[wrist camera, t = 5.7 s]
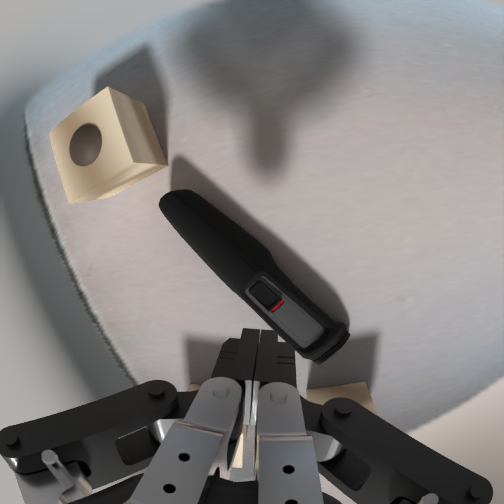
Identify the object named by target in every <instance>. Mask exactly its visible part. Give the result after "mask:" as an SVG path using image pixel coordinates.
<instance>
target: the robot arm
mask: <svg viewBox="0 0 504 504" xmlns="http://www.w3.org/2000/svg"><path fill="white" fill-rule="evenodd" d="M259 339H260V342H259ZM251 410H252V418H251V425H256V426H255V438H254V469H253V481H245V482H233V481H230V480H229V475H230V472H231V469H232V465H233V462H234V459H235V455H236V452H237V448H238V445H239V441H240V435H241V433H242V429H243V424H245V425H249V423H250V416H251ZM144 426H146V428H144V429H141V430H139V431H137V432H134V433H132V434H130V435H127V436H125V437H123V438H120V439H118V438H119V437H121V436H123V435H125V434H128V433H130V432H133V431H135V430H137V429H140V428H141V427H144ZM0 454H1V456H2V457H3V458H4V459H5V461H6V462H7V463H8V464H9V466H10V468H11V469H12V470H13V471H14V473H15V475H16V479H17V482H18V485H19V488H20V491H21V493H22V496H23V499H24V501H25V504H342V503H341V502H340V501H338V500H337V499H335V498H334V497H332V496H330V495H328V494H326V493H323V492H322V490H321V484H320V478H319V473H320V474H321V475H323V476H324V477H325V478H326V479H327V480H328V481H330V482H331V483H332V484H333V485H334V486H336V487H337V488H338V489H339V490H341V491H342V492H343V493H344V494H345V495H347V496H348V497H349V498H351V499H352V500H353V501H354V502H356V503H357V504H489V503H490V502H491V500H492V496H493V488H492V486H491V484H490V482H489V481H488V480H487V479H486V478H484V477H482V476H480V475H478V474H476V473H474V472H472V471H470V470H469V469H466V468H465V467H463V466H461V465H459V464H457V463H455V462H454V461H452V460H450V459H448V458H446V457H444V456H443V455H441V454H439V453H438V452H436V451H434V450H432V449H431V448H429V447H427V446H425V445H424V444H422V443H420V442H419V441H417V440H415V439H414V438H412V437H410V436H409V435H407V434H406V433H404V432H402V431H401V430H399V429H397V428H396V427H394V426H393V425H391V424H390V423H388V422H386V421H385V420H383V419H382V418H380V417H379V416H377V415H375V414H374V413H372V412H371V411H369V410H368V409H366V408H365V407H363V406H362V405H360V404H359V403H357V402H356V401H354V400H352V399H349V398H343V397H338V398H333V399H330V400H328V401H327V402H325V403H324V405H321V404H317V403H313V402H310V401H308V400H306V399H304V398H303V397H302V396H301V395H300V394H299V392H298V390H297V385H296V365H295V349H294V348H293V347H292V345H291V344H290V343H287V342H278V331H274V330H261V335H260V329H248V328H243V331H242V334H241V338H240V339H235V338H229V339H228V340H227V341H226V342H225V343H223V345H222V348H221V351H220V354H219V357H218V359H217V362H216V365H215V368H214V371H213V374H212V376H211V379H208V380H206V381H205V382H204V383H203V384H202V385H201V387H200V389H199V390H195V391H188V392H177V390H176V388H175V387H174V385H172V384H171V383H169V382H167V381H163V380H152V381H148V382H145V383H143V384H140V385H138V386H135V387H132V388H130V389H127V390H124V391H122V392H119V393H116V394H114V395H111V396H108V397H105V398H102V399H100V400H97V401H94V402H91V403H88V404H85V405H82V406H79V407H76V408H73V409H69V410H66V411H63V412H60V413H57V414H53V415H50V416H46V417H43V418H39V419H36V420H32V421H28V422H24V423H21V424H17V425H12V426H8V427H6V428H4V429H2V430H1V431H0ZM146 467H148V468H147V470H146V472H145V473H142V474H139V475H136V476H133V477H130V478H128V479H126V480H124V481H122V482H120V483H117V484H115V485H113V486H111V487H108V488H106V489H104V490H101V491H99V492H97V493H94V494H92V490H93V489H95V488H98V487H101V486H104V485H106V484H109V483H111V482H114V481H116V480H119V479H121V478H124V477H126V476H128V475H131V474H133V473H135V472H137V471H139V470H142V469H144V468H146Z"/></svg>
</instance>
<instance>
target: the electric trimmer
mask: <svg viewBox="0 0 504 504" xmlns="http://www.w3.org/2000/svg"><path fill="white" fill-rule="evenodd" d="M159 207H160V210H161V211H162V213H163V214H164V216H165V217H166V218H167V220H168V221H169V222H170V223H171V225H172V226H173V227H174V228H175V230H176V231H177V232H178V233H179V234H180V236H181V237H182V238H183V239H184V240H185V241H186V242H187V243H188V244H189V245H190V247H191V248H192V249H193V250H194V251H195V252H196V253H197V254H198V255H199V256H200V257H201V258H202V260H203V261H204V262H205V263H206V264H207V265H208V266H209V267H210V268H211V269H212V270H213V271H214V272H215V274H216V275H217V276H218V277H219V278H220V279H221V280H222V281H223V282H224V283H225V284H226V285H227V286H228V287H229V288H230V289H231V290H232V291H234V292H235V293H236V294H237V295H238V296H239V297H241V298H242V299H243V300H244V301H245V302H246V303H247V304H248V305H249V306H250V307H251V308H252V309H253V310H254V311H255V312H256V313H257V314H258V315H259V316H260V317H261V318H262V319H263V320H264V321H265V322H266V323H267V324H268V325H269V326H270V327H271V328H272V329H273V330H274V331H278V335H279V336H280V337H281V338H282V339H284V340H285V341H286V342H287V343H290V344H291V345H292V347H293V348H294V349H295V351H297V352H298V353H299V354H300V355H301V356H302V357H303V358H306V359H310V360H313V362H315V363H316V364H318V365H319V364H321V363H323V362H324V361H326V360H327V359H328V358H329V357H331V356H332V355H333V354H335V353H336V352H337V351H338V350H339V349H340V348H341V347H342V346H343V345H344V344H345V343H346V341H347V340H348V339H349V337H350V333H349V332H348V331H346V325H345V324H344V323H340V322H336V321H334V320H332V319H331V318H330V317H329V316H328V315H326V314H325V313H324V312H323V311H322V310H321V309H320V308H318V307H317V306H316V305H315V304H314V303H313V302H312V301H311V300H310V299H308V298H307V297H306V296H305V295H304V294H303V293H302V292H301V291H300V290H299V289H298V288H297V287H296V286H295V285H294V284H293V283H292V282H291V281H290V280H289V279H288V278H287V277H286V275H285V274H284V273H283V272H282V271H281V270H280V269H279V268H278V266H277V264H276V263H275V261H274V260H273V258H272V256H271V253H270V252H269V250H268V249H267V248H266V247H265V246H263V245H262V244H261V243H260V242H259V241H258V240H256V239H255V238H254V237H253V236H251V235H250V234H249V233H247V232H246V231H245V230H244V229H242V228H241V227H240V226H238V225H237V224H236V223H235V222H233V221H232V220H231V219H229V218H228V217H227V216H225V215H224V214H223V213H222V212H220V211H219V210H218V209H216V208H215V207H214V206H212V205H211V204H210V203H208V202H207V201H206V200H205V199H203V198H202V197H201V196H199V195H198V194H196V193H194V192H193V191H191V190H186V189H184V190H176V191H171V192H168V193H167V194H165V195H164V196H163V197H162V198H161V199H160V202H159Z"/></svg>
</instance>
